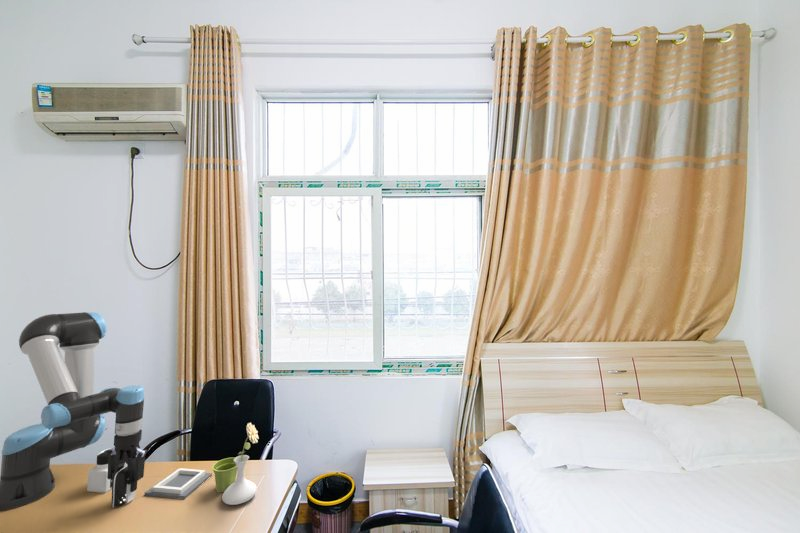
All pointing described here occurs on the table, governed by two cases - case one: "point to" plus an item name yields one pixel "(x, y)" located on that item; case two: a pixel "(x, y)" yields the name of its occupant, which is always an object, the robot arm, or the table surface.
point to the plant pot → (224, 473)
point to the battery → (119, 487)
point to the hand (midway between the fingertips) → (124, 499)
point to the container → (100, 474)
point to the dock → (179, 483)
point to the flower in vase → (242, 475)
